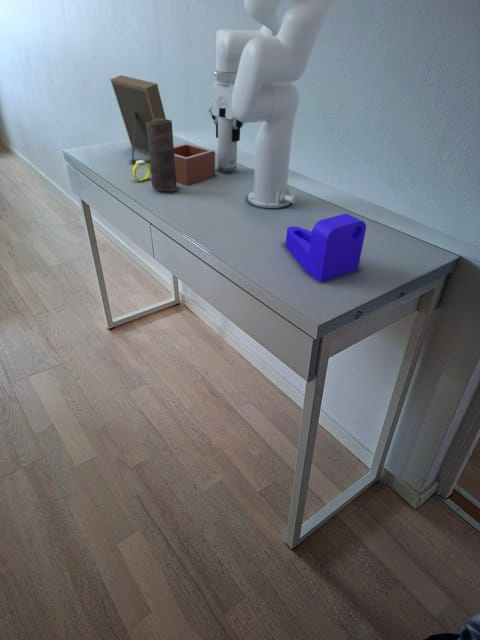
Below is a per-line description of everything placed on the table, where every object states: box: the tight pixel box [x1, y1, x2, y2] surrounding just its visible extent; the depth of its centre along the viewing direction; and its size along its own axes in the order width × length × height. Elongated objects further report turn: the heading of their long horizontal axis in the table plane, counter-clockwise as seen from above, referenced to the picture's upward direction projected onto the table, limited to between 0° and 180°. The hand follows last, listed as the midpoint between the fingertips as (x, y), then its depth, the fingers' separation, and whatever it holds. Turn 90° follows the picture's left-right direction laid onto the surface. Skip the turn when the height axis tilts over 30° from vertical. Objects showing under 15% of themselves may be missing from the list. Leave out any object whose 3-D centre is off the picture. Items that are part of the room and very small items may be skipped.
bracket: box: [285, 213, 367, 283], centre depth 101 cm, size 18×11×12 cm, turn 33°
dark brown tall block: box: [146, 118, 178, 192], centre depth 132 cm, size 8×7×20 cm
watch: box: [131, 159, 151, 182], centre depth 143 cm, size 6×3×6 cm, turn 135°
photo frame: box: [110, 74, 167, 165], centre depth 158 cm, size 15×22×25 cm
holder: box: [174, 142, 216, 186], centre depth 147 cm, size 13×13×8 cm
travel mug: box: [217, 108, 238, 172], centre depth 148 cm, size 6×7×20 cm
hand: (227, 138), depth 148 cm, fingers closed on travel mug, 6 cm apart
